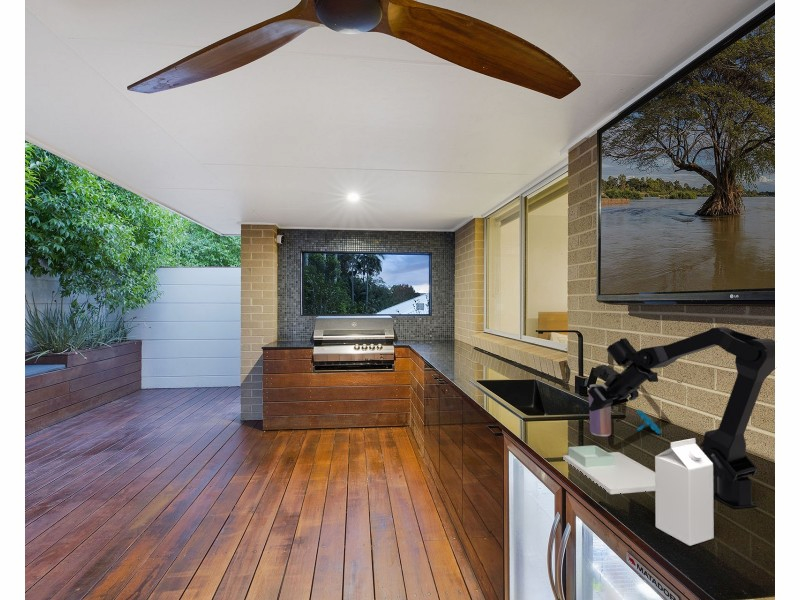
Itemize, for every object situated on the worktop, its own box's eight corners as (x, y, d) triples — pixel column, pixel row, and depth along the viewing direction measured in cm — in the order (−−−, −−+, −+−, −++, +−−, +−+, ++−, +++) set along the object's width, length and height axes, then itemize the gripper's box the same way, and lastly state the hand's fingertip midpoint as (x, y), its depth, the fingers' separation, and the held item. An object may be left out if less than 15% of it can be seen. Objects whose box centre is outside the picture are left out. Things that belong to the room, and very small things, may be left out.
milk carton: (655, 527, 86) (654, 437, 86) (678, 521, 88) (678, 433, 88) (689, 546, 79) (688, 448, 79) (714, 539, 82) (713, 443, 82)
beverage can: (589, 435, 127) (588, 386, 127) (590, 429, 132) (589, 383, 132) (611, 438, 124) (610, 388, 124) (611, 432, 129) (610, 384, 130)
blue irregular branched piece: (661, 433, 140) (638, 409, 145) (647, 443, 142) (624, 419, 147) (664, 429, 148) (642, 407, 153) (651, 439, 150) (629, 416, 155)
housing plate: (676, 489, 103) (676, 474, 103) (610, 494, 100) (610, 479, 100) (618, 455, 125) (618, 443, 125) (563, 459, 122) (563, 447, 122)
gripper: (628, 354, 130) (595, 384, 139) (593, 359, 120) (561, 391, 129) (654, 383, 123) (619, 412, 133) (620, 391, 113) (584, 422, 123)
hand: (596, 408), depth 129 cm, fingers closed on beverage can, 6 cm apart
